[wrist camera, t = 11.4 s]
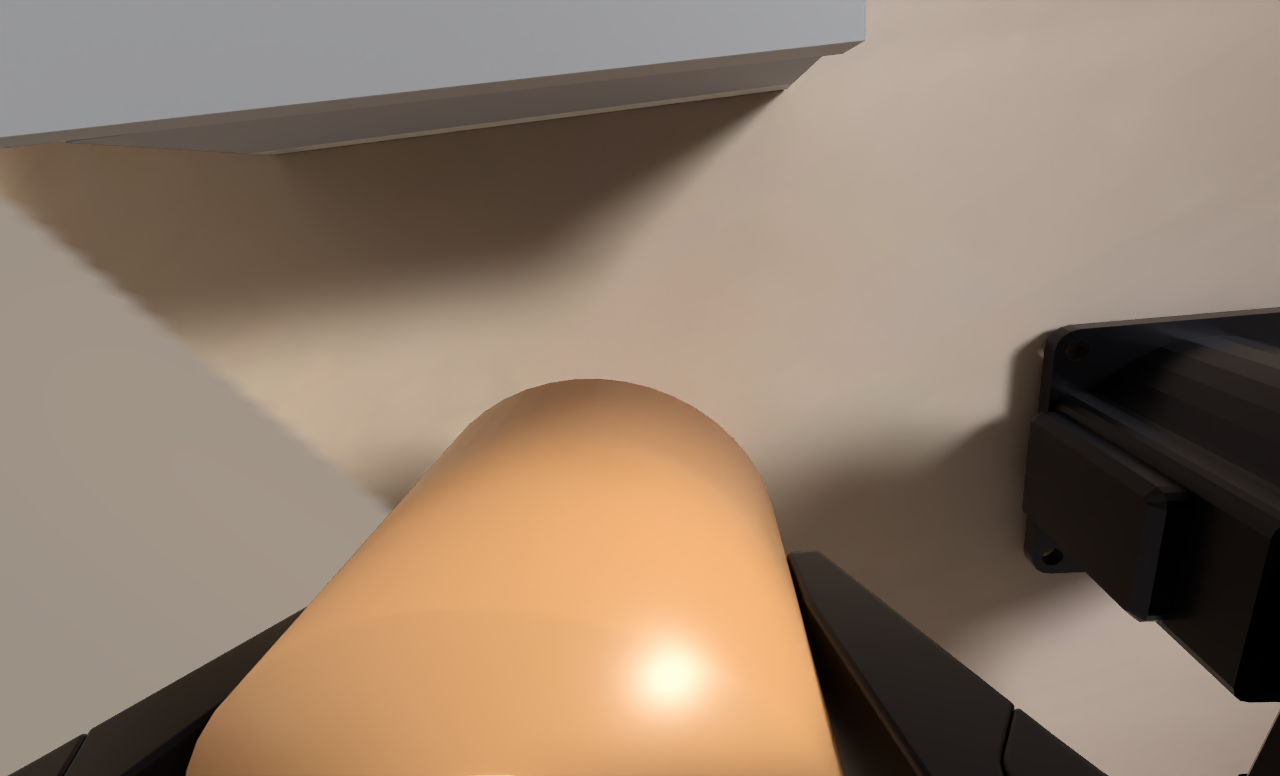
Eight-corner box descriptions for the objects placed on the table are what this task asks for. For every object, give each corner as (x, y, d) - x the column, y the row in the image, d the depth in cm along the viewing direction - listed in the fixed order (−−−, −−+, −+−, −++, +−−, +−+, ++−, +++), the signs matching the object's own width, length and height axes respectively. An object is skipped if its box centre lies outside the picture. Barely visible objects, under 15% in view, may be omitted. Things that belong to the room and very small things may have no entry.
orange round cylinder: (769, 363, 9) (878, 597, 4) (783, 680, 10) (868, 1114, 6) (390, 394, 9) (64, 630, 4) (463, 689, 11) (290, 1092, 6)
